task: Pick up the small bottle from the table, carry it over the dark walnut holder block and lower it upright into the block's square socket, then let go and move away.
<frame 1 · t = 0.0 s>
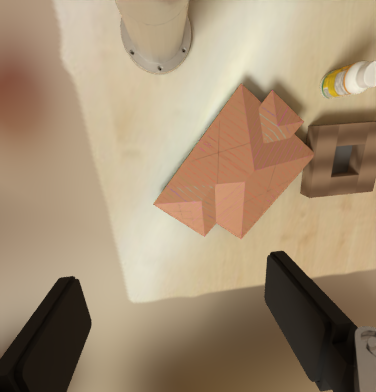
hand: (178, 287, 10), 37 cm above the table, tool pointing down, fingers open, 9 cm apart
supplement bottle: (330, 85, 43), on the table
holder: (335, 158, 48), on the table
house: (233, 171, 47), on the table
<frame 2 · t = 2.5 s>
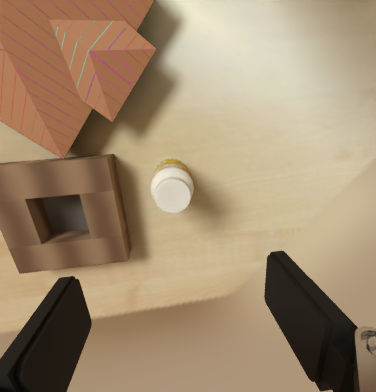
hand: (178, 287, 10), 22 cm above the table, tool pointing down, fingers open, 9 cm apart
supplement bottle: (171, 175, 31), on the table
holder: (71, 210, 31), on the table
house: (9, 3, 23), on the table
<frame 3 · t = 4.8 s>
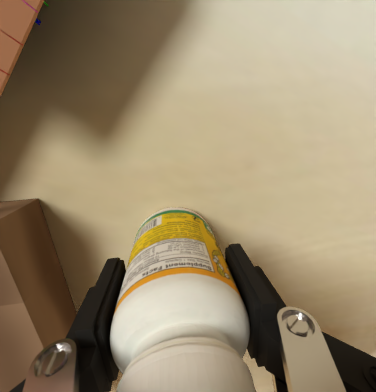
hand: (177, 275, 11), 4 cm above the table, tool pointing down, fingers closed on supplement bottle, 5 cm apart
supplement bottle: (174, 239, 14), on the table, touching gripper
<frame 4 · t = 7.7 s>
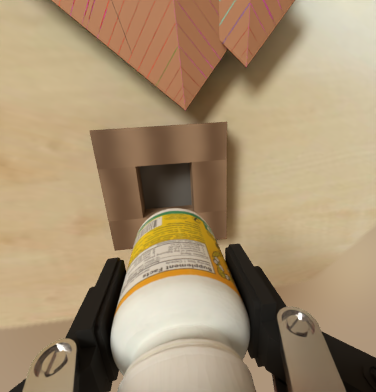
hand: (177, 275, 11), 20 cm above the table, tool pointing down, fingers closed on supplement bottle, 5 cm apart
supplement bottle: (175, 240, 14), point 16 cm above the table, touching gripper
holder: (166, 184, 29), on the table
when the fingers open (5 cm above the table, at t = 10.6 s): supplement bottle drops 1 cm, resting on holder.
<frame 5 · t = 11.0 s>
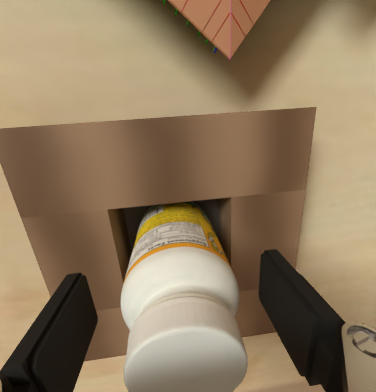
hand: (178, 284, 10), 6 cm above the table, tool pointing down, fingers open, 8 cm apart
supplement bottle: (175, 228, 15), resting on holder
holder: (174, 229, 16), on the table
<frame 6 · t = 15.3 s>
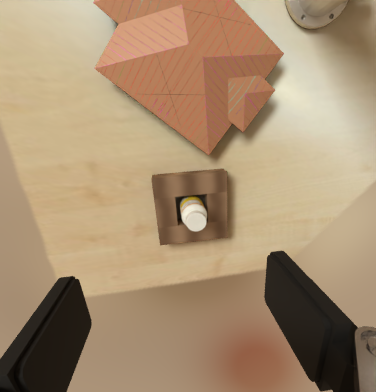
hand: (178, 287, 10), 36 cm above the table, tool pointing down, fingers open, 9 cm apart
supplement bottle: (190, 204, 48), resting on holder
holder: (190, 204, 48), on the table
house: (186, 63, 39), on the table
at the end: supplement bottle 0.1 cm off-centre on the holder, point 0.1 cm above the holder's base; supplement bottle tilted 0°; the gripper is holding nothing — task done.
